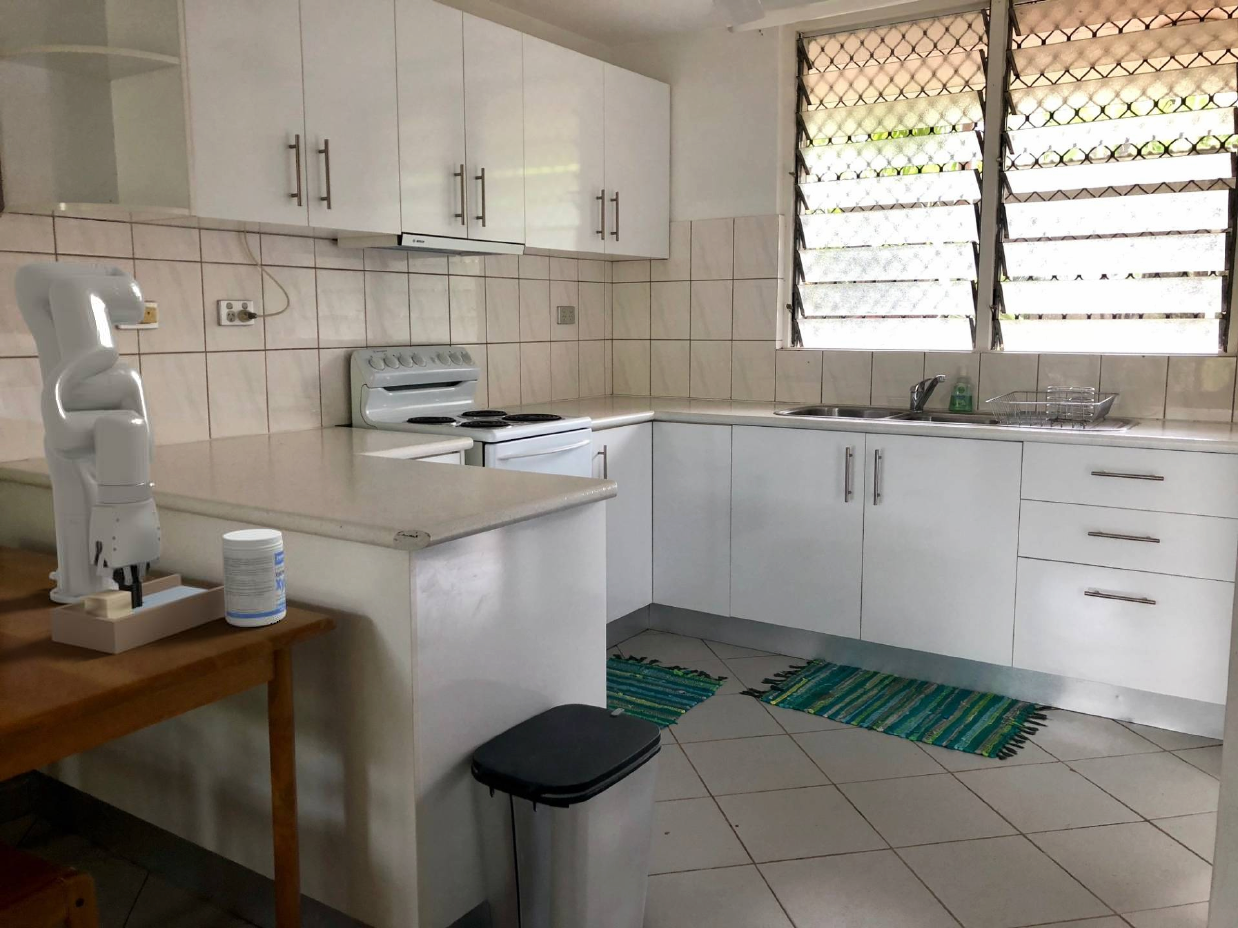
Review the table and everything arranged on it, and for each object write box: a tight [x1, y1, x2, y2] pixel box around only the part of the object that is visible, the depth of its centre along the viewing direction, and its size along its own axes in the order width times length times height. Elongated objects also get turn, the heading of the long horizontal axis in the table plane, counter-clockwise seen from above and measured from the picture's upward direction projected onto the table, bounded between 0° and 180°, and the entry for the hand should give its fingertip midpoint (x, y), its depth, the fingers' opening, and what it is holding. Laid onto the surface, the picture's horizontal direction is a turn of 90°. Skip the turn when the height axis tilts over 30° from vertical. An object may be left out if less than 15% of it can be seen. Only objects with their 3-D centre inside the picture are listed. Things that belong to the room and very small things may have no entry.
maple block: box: [84, 589, 132, 619], centre depth 150 cm, size 4×4×4 cm
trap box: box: [49, 573, 226, 655], centre depth 158 cm, size 14×24×5 cm, turn 156°
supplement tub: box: [221, 528, 287, 628], centre depth 161 cm, size 10×10×15 cm
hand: (131, 606), depth 154 cm, fingers closed
